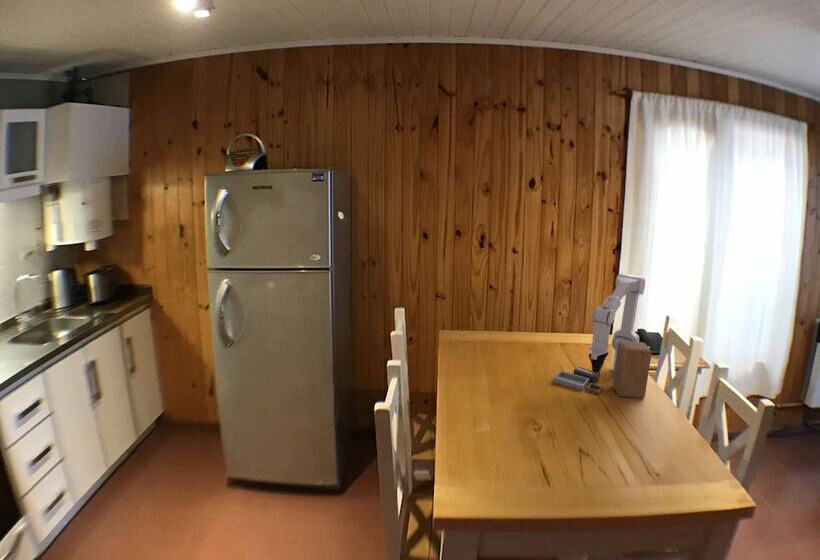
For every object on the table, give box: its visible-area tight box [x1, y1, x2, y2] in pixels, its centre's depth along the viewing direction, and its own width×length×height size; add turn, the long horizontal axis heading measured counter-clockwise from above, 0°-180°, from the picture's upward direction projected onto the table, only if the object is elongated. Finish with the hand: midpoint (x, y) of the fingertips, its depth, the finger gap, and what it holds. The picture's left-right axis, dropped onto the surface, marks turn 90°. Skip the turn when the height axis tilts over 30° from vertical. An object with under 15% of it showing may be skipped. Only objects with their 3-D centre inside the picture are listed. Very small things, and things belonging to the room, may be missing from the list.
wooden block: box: [612, 341, 652, 399], centre depth 176 cm, size 10×10×20 cm
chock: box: [572, 366, 600, 384], centre depth 189 cm, size 9×4×4 cm, turn 42°
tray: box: [552, 370, 590, 392], centre depth 185 cm, size 12×8×2 cm
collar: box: [585, 383, 604, 395], centre depth 180 cm, size 5×5×2 cm
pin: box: [592, 361, 603, 378], centre depth 177 cm, size 3×3×7 cm
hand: (596, 370), depth 178 cm, fingers closed on pin, 3 cm apart
